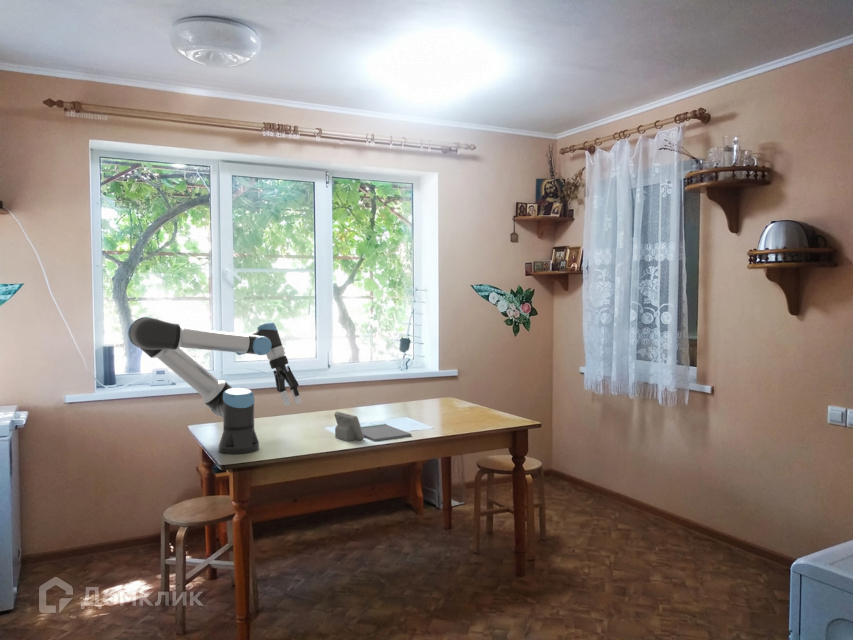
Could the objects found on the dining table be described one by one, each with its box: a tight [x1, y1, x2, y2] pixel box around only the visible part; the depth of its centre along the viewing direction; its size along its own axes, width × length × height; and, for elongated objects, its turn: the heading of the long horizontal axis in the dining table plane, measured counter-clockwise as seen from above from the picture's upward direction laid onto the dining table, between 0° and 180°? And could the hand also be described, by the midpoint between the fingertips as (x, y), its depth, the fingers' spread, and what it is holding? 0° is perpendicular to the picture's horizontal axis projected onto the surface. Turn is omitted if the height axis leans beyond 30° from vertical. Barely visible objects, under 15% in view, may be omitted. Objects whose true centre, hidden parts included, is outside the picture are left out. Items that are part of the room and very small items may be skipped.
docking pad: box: [361, 423, 412, 442], centre depth 264 cm, size 18×24×1 cm
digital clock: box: [333, 411, 365, 442], centre depth 256 cm, size 16×9×11 cm, turn 29°
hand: (293, 404), depth 257 cm, fingers open, 13 cm apart
